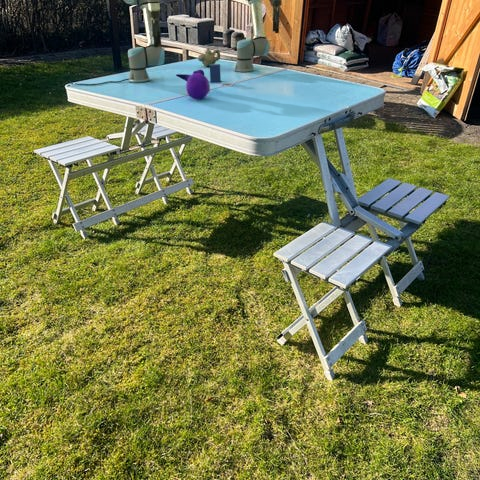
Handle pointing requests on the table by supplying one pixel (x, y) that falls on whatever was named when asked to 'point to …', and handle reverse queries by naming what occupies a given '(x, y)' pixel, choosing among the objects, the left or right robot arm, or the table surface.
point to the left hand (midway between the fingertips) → (157, 46)
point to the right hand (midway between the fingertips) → (275, 32)
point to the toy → (196, 84)
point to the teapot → (209, 57)
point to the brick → (215, 73)
